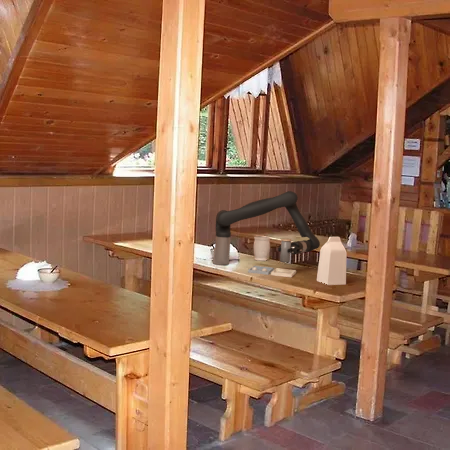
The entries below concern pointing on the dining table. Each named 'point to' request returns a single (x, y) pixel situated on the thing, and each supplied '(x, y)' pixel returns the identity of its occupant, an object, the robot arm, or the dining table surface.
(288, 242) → the canister
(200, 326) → the dining table surface
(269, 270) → the tray
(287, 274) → the tray
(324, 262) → the milk
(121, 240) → the dining table surface
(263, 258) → the jar
